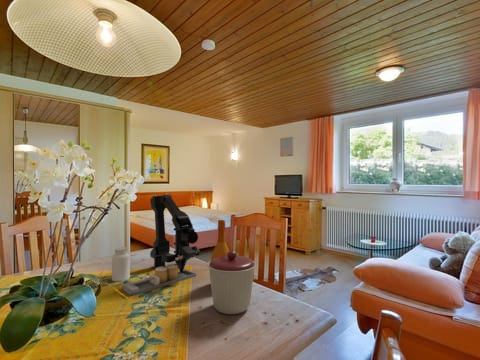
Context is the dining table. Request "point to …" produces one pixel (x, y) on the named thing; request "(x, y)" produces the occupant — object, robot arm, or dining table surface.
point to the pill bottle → (120, 264)
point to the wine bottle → (220, 242)
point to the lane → (149, 286)
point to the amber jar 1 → (162, 274)
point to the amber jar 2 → (172, 271)
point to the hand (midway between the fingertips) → (181, 272)
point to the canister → (231, 282)
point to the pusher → (152, 279)
